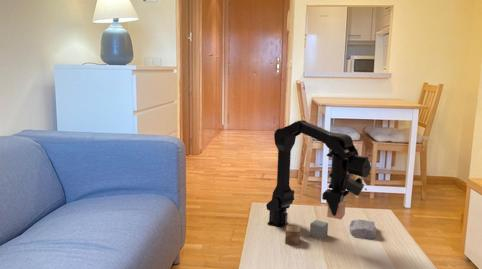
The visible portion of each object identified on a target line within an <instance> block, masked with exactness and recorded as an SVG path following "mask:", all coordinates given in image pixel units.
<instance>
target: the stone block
mask: <svg viewBox="0 0 482 269" xmlns="http://www.w3.org/2000/svg"><path fill="white" fill-rule="evenodd" d="M348 229H349V234H351V236H352V237H353V238H357V239H369V240H375V239H376V238H377V227H376V226H375V221H370V220H366V219H354V220H351V221H350V223H349V228H348Z"/></svg>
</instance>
